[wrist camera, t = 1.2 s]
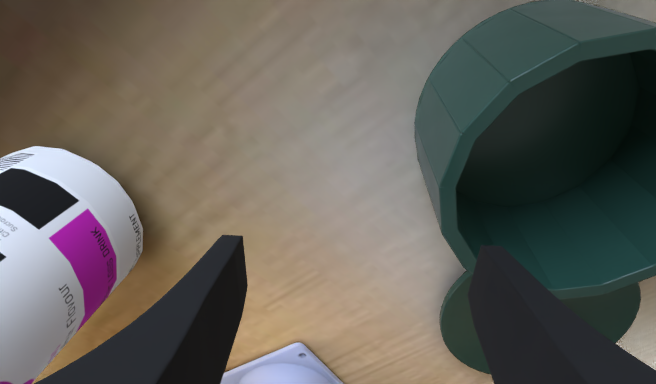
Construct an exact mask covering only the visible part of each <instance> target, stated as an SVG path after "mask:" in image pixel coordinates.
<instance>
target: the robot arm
mask: <svg viewBox="0 0 656 384" xmlns="http://www.w3.org/2000/svg"><path fill="white" fill-rule="evenodd" d="M247 286H248V285H247V275H246V265H245V255H244V246H243V236H233V235H222V236H221V237H220V238H219V239H218V240H217V241H216V242H215V243H214V244H213V246H212V247H211V248H210V249H209V250H208V251H207V252H206V253H205V255H204V256H203V257H202V258H201V259H200V260H199V261H198V262H197V263H196V264H195V265H194V266H193V267H192V269H191V270H190V271H189V272H188V273H187V274H186V275H185V276H184V277H183V278H182V279H181V280H180V281H179V282H178V283H177V284H176V285H175V286H174V287H173V288H171V289H170V290H169V291H168V292H167V293H166V294H165V295H164V296H163V297H162V298H161V299H160V300H159V301H157V302H156V303H155V304H154V305H153V306H152V307H151V308H149V309H148V310H147V311H146V312H145V313H143V314H142V315H141V316H140V317H138V318H137V319H136V320H135V321H133V322H132V323H131V324H130V325H128V326H127V327H126V328H124V329H123V330H121V331H120V332H118V333H117V334H116V335H114V336H113V337H111V338H110V339H108V340H107V341H105V342H104V343H102V344H101V345H100V346H98V347H97V348H95V349H94V350H92V351H90V352H89V353H87V354H86V355H84V356H82V357H81V358H79V359H78V360H76V361H74V362H72V363H71V364H69V365H67V366H66V367H64V368H62V369H60V370H59V371H57V372H55V373H53V374H52V375H50V376H48V377H46V378H44V379H42V380H40V381H38V382H36V383H34V384H344V383H343V382H342V381H341V380H340V379H339V378H338V377H336V376H335V375H334V374H333V373H332V372H331V371H330V370H329V369H328V368H327V367H326V366H325V365H324V364H323V363H322V362H321V361H320V360H319V359H318V358H317V357H316V356H315V355H314V354H313V353H312V352H311V351H310V350H309V349H308V348H307V347H306V346H305V345H304V344H302V343H299V342H297V343H293V344H291V345H289V346H286V347H284V348H282V349H279V350H277V351H275V352H272V353H270V354H268V355H265V356H263V357H260V358H258V359H256V360H253V361H251V362H249V363H246V364H244V365H242V366H239V367H237V368H235V369H232V370H230V371H228V372H225V373H224V371H225V368H226V365H227V361H228V358H229V355H230V352H231V349H232V346H233V343H234V340H235V336H236V333H237V330H238V327H239V324H240V320H241V317H242V313H243V308H244V303H245V297H246V292H247ZM467 295H468V300H469V305H470V310H471V315H472V319H473V324H474V327H475V330H476V333H477V336H478V339H479V342H480V345H481V347H482V350H483V353H484V356H485V359H486V361H487V364H488V367H489V370H490V373H491V375H492V378H493V381H494V384H656V370H654V369H653V368H651V367H649V366H648V365H646V364H645V363H643V362H642V361H640V360H638V359H637V358H635V357H634V356H632V355H631V354H629V353H628V352H626V351H625V350H623V349H622V348H620V347H619V346H618V345H616V344H615V343H614V342H612V341H611V340H609V339H608V338H607V337H605V336H604V335H602V334H601V333H600V332H598V331H597V330H596V329H594V328H593V327H592V326H590V325H589V324H588V323H587V322H585V321H584V320H583V319H582V318H580V317H579V316H578V315H577V314H576V313H574V312H573V311H572V310H571V309H570V308H568V307H567V306H566V305H565V304H564V303H563V302H561V301H560V300H559V299H558V298H557V297H556V296H555V295H553V294H552V293H551V292H550V291H549V290H548V289H547V288H546V287H545V286H543V285H542V284H541V283H540V282H539V281H538V280H537V279H536V278H535V277H534V276H533V275H532V274H531V273H530V272H529V271H528V270H526V269H525V268H524V267H523V266H522V265H521V264H520V263H519V262H518V261H517V260H516V259H515V258H514V257H513V256H512V255H511V254H510V253H509V252H508V251H506V250H505V249H504V248H503V247H502V246H489V245H481V247H480V251H479V254H478V258H477V262H476V265H475V269H474V272H473V276H472V280H471V283H470V287H469V291H468V294H467Z"/></svg>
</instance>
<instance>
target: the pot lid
mask: <svg viewBox="0 0 656 384" xmlns="http://www.w3.org/2000/svg"><path fill="white" fill-rule="evenodd" d="M472 276H473V274H472V273H470V272H469V271H466V272H465V273H464V274H463V275H462V276H461V277H460V278H459V279H458V280H457V281H456V282H455V283H454V284H453V286H452V287H451V288H450V290H449V291H448V293H447V295H446V297H445V299H444V301H443V304H442V306H441V311H440V329H441V333H442V337H443V340H444V342H445V344H446V346H447V347H448V349H449V350H450V352H451V353H452V354H453V355H454V356H455V357H456V358H457V359H459V360H460V361H461V362H462V363H464V364H466V365H467V366H469V367H471V368H473V369H476V370H478V371H481V372H484V373H487V374H491V373H490V370H489V367H488V364H487V361H486V359H485V356H484V353H483V350H482V347H481V345H480V342H479V339H478V336H477V333H476V330H475V327H474V324H473V319H472V315H471V310H470V305H469V300H468V295H467V294H468V291H469V287H470V283H471V280H472ZM559 300H560V301H561V302H563V303H564V304H565V305H566V306H567V307H568V308H570V309H571V310H572V311H573V312H574V313H576V314H577V315H578V316H579V317H580V318H582V319H583V320H584V321H585V322H587V323H588V324H589V325H590V326H592V327H593V328H594V329H596V330H597V331H598V332H600V333H601V334H602V335H604V336H605V337H607V338H608V339H609V340H611V341H612V342H614V343H616V342H617V341H618V340H619V339H620V338H621V337H622V336H623V335H624V334H625V333H626V332H627V330H628V329H629V328H630V326H631V325H632V323H633V321H634V319H635V318H636V315H637V312H638V310H639V306H640V300H641V297H640V287H639V283H638V282H637V283H634V284H631V285H628V286H626V287H623V288H620V289H617V290H615V291H612V292H609V293H607V294H603V295H596V296H587V297H578V298H568V299H559Z"/></svg>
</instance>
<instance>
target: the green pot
mask: <svg viewBox="0 0 656 384" xmlns="http://www.w3.org/2000/svg"><path fill="white" fill-rule="evenodd" d="M414 124H415V142H416V148H417V157H418V162H419V165H420V168H421V171H422V174H423V177H424V180H425V183H426V186H427V189H428V192H429V195H430V198H431V201H432V205H433V208H434V211H435V214H436V217H437V220H438V223H439V226H440V229H441V232H442V235H443V236H444V238H445V240H446V241H447V243H448V244H449V246H450V247H451V249H452V250H453V252H454V253H455V255H456V257H457V258H458V260H459V261H460V263H461V264H462V266H463V267H464V268H465V269H466V270H467V271H469V272H470V273H472V274H473V272H474V269H475V265H476V262H477V258H478V254H479V251H480V247H481V245H489V246H502V247H503V248H504V249H505V250H506V251H508V252H509V253H510V254H511V255H512V256H513V257H514V258H515V259H516V260H517V261H518V262H519V263H520V264H521V265H522V266H523V267H524V268H525V269H526V270H528V271H529V272H530V273H531V274H532V275H533V276H534V277H535V278H536V279H537V280H538V281H539V282H540V283H541V284H542V285H543V286H545V287H546V288H547V289H548V290H549V291H550V292H551V293H552V294H553V295H555V296H556V297H557V298H558V299H568V298H578V297H587V296H596V295H603V294H607V293H609V292H612V291H615V290H617V289H620V288H623V287H626V286H628V285H631V284H634V283H637V282H639V281H642V280H645V279H648V278H650V277H653V276H656V23H655V22H651V21H648V20H645V19H641V18H638V17H635V16H631V15H628V14H625V13H621V12H618V11H615V10H611V9H607V8H603V7H599V6H595V5H591V4H587V3H583V2H578V1H574V0H543V1H535V2H530V3H526V4H522V5H518V6H515V7H512V8H510V9H507V10H505V11H502V12H500V13H497V14H496V15H494V16H492V17H490V18H488V19H486V20H484V21H482V22H481V23H480V24H478V25H477V26H475V27H474V28H472V29H471V30H469V31H468V32H467V33H466V34H464V35H463V36H462V37H461V38H460V39H459V40H458V41H456V42H455V43H454V44H453V45H452V46H451V48H450V49H449V50H448V51H447V52H446V53H445V54H444V55H443V56H442V58H441V59H440V61H439V62H438V63H437V65H436V66H435V68H434V69H433V71H432V72H431V74H430V76H429V78H428V80H427V81H426V83H425V86H424V88H423V91H422V93H421V96H420V98H419V102H418V106H417V110H416V117H415V122H414Z"/></svg>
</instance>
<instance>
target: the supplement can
mask: <svg viewBox="0 0 656 384" xmlns="http://www.w3.org/2000/svg"><path fill="white" fill-rule="evenodd" d="M142 251H143V228H142V225H141V222H140V220H139V217H138V214H137V212H136V209H135V206H134V204H133V202H132V200H131V199H130V197H129V196H128V195H127V193H126V192H125V191H124V189H123V188H122V187H121V185H120V184H119V183H118V181H117V180H115V179H114V178H113V177H112V176H110V175H109V174H108V173H107V172H105V171H104V170H103V169H102V168H100V167H99V166H98V165H96V164H94V163H93V162H91V161H89V160H87V159H84V158H82V157H80V156H78V155H75V154H73V153H71V152H68V151H66V150H64V149H57V148H48V147H39V146H34V147H30V148H27V149H23V150H20V151H17V152H13V153H11V154H9V155H7V156H5V157H2V158H0V384H31V383H32V382H33V381H34V380H35V379H36V378H37V377H38V375H39V374H40V373H41V372H42V371H43V370H44V369H45V367H46V366H47V365H48V364H49V363H50V362H51V361H52V360H53V358H54V357H55V356H56V355H57V354H58V353H59V352H60V351H61V349H62V348H63V347H64V346H65V345H66V344H67V343H68V341H69V340H70V339H71V338H72V337H73V336H74V335H75V334H76V332H77V331H78V330H79V329H80V328H81V327H82V326H83V324H84V323H85V322H86V321H87V320H88V319H89V318H90V317H91V315H92V314H93V313H94V312H95V311H96V310H97V309H98V307H99V306H100V305H101V304H102V303H103V302H104V301H105V300H106V298H107V297H108V296H109V295H110V294H111V293H112V292H113V290H114V289H115V288H116V287H117V286H118V285H119V284H120V283H121V281H122V280H123V279H124V278H125V277H126V276H127V275H128V274H129V272H130V271H131V270H132V269H133V268H134V266H135V264H136V262H137V260H138V259H139V257H140V255H141V253H142Z"/></svg>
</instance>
